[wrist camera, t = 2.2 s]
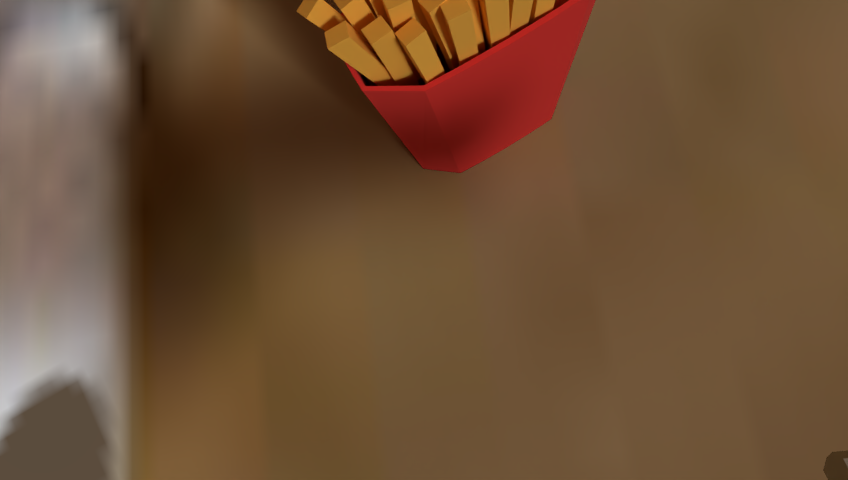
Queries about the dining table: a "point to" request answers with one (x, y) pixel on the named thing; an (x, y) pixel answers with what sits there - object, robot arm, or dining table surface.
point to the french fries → (456, 68)
